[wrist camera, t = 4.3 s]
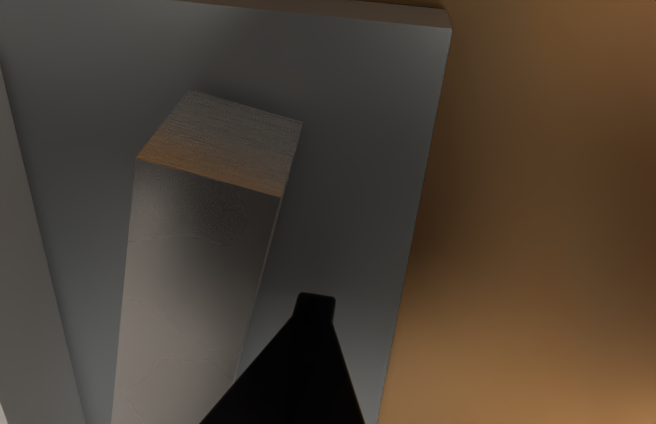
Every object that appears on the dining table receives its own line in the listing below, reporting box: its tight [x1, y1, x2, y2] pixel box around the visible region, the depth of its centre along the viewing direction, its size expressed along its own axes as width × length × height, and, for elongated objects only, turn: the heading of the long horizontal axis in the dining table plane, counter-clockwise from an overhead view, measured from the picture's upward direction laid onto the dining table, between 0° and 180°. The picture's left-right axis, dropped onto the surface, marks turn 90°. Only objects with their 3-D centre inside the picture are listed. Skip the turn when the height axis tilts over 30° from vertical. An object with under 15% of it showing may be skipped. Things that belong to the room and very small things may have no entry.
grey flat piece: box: [0, 0, 453, 424], centre depth 12 cm, size 16×9×3 cm, turn 176°
